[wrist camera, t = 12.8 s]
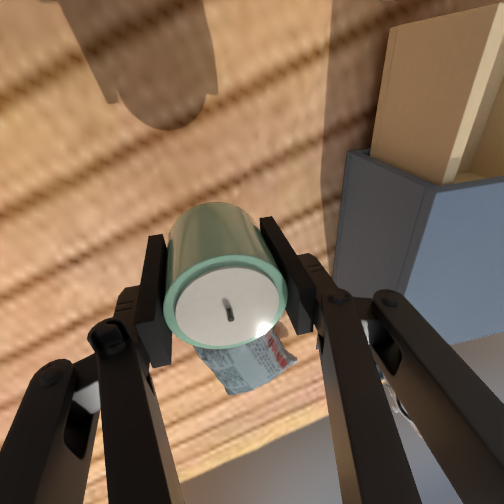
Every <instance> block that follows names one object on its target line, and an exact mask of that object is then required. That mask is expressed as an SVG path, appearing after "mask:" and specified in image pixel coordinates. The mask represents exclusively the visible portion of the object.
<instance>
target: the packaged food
mask: <svg viewBox="0 0 504 504" xmlns="http://www.w3.org/2000/svg"><path fill="white" fill-rule="evenodd" d="M273 327H274V326H273ZM273 327H272V328H271V329H270V330H269V331H268V332H266V333H265V334H264V335H262V336H261V337H259V338H257V339H255V340H253V341H251V342H249V343H246V344H244V345H241V346H237V347H233V348H226V349H206V348H200V347H196V346H193V347H194V349H195V351H196V352H197V354H198V356H199V357H200V358H201V360H202V361H203V362H204V363H205V364H206V365H207V366H208V367H209V368H210V369H211V370H212V371H213V372H214V373H215V375H216V377H217V378H218V379H219V381H220V382H221V383H222V384H223V385H224V387H225V390H226V392H227V394H228V395H235V394H240V393H244V392H248V391H252V390H254V389H256V388H258V387H260V386H262V385H264V384H266V383H268V382H270V381H271V380H272V379H274V378H275V377H277V376H278V375H280V374H281V373H283V372H284V371H285V370H286V369H287V368H288V366H291V365H293V364H295V363H297V357H295V356H294V355H292V354H291V353H289V352H288V351H287V350H286V349H284V347H283V345H282V343H281V341H280V339H279V337H278V336H277V335H276V334H275V333H274V331H273Z"/></svg>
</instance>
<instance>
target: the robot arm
mask: <svg viewBox="0 0 504 504" xmlns="http://www.w3.org/2000/svg"><path fill="white" fill-rule="evenodd" d="M260 232H261V234H262V236H263V238H264V240H265V242H266V244H267V246H268V248H269V250H270V252H271V254H272V256H273V258H274V260H275V261H276V263H277V265H278V267H279V269H280V271H281V273H282V275H283V277H284V279H285V281H286V284H287V289H288V300H287V305H286V308H285V309H286V311H287V314H288V316H289V318H290V320H291V323H292V325H293V327H294V329H295V332H296V334H297V335H301V334H305V333H310V332H313V325H315V327H316V329H317V330H318V335H317V345H316V349H319V353H320V360H321V366H322V373H323V379H324V386H325V392H326V399H327V405H328V412H329V418H330V424H331V430H332V437H333V444H334V450H335V456H336V463H337V470H338V476H339V483H340V489H341V496H342V502H343V504H422V502H421V499H420V496H419V493H418V490H417V487H416V484H415V481H414V478H413V475H412V472H411V469H410V466H409V463H408V460H407V457H406V454H405V451H404V448H403V445H402V442H401V439H400V436H399V433H398V430H397V427H396V424H395V421H394V418H393V415H392V412H391V409H390V406H389V403H388V400H387V397H386V394H385V391H384V388H383V385H382V382H381V379H380V376H379V373H378V370H377V367H376V364H375V361H376V363H377V365H378V366H379V368H380V370H381V371H382V373H383V374H384V376H385V378H386V379H387V381H388V382H389V384H390V386H391V387H392V389H393V391H394V392H395V394H396V395H397V397H398V399H399V400H400V402H401V403H402V405H403V407H404V408H405V410H406V412H407V413H408V415H409V416H410V418H411V420H412V421H413V423H414V424H415V426H416V428H417V429H418V431H419V433H420V434H421V436H422V437H423V439H424V441H425V442H426V444H427V445H428V447H429V449H430V450H431V452H432V454H433V455H434V457H435V458H436V460H437V462H438V463H439V465H440V466H441V468H442V470H443V471H444V473H445V475H446V476H447V478H448V479H449V481H450V482H451V484H452V486H453V487H454V489H455V490H456V492H457V494H458V495H459V497H460V499H461V500H462V502H463V503H464V504H504V404H503V403H502V402H501V401H500V400H499V399H498V397H497V396H496V395H495V394H494V393H493V392H492V391H491V390H490V389H489V388H488V387H487V386H486V384H485V383H484V382H483V381H482V380H481V379H480V378H479V377H478V376H477V375H476V374H475V373H474V372H473V371H472V369H470V367H469V366H468V365H467V364H466V363H465V362H464V361H463V360H462V358H461V357H460V356H459V355H458V354H457V353H456V352H455V351H454V350H453V349H452V348H451V347H450V345H449V344H448V343H447V342H446V341H445V340H444V339H443V338H442V337H441V336H440V335H439V333H438V332H437V331H436V330H435V329H434V328H433V327H432V326H431V325H430V324H429V323H428V322H427V320H426V319H425V318H424V317H423V316H422V315H421V314H420V313H419V312H418V311H417V310H416V309H415V307H414V306H413V305H412V304H411V303H410V302H409V301H408V300H407V299H406V298H405V297H404V296H403V295H402V294H400V293H398V292H396V291H394V290H389V289H381V290H378V291H376V292H375V293H374V294H373V298H362V297H353V296H352V295H351V294H350V293H349V292H348V291H346V290H344V289H341V288H338V287H337V285H336V284H335V283H334V281H333V280H332V278H331V277H330V276H329V274H328V273H327V272H326V270H325V269H324V267H323V266H322V265H321V263H320V262H319V261H318V259H317V258H316V257H314V256H313V255H311V254H309V253H306V254H301V255H296V253H295V252H294V250H293V248H292V247H291V245H290V244H289V242H288V241H287V239H286V237H285V236H284V234H283V233H282V231H281V230H280V228H279V226H278V225H277V223H276V222H275V220H274V219H273V217H272V216H270V217H264V218H260ZM166 257H167V247H166V244H165V240H164V237H163V234H159V235H153V236H149V238H148V244H147V249H146V255H145V260H144V266H143V271H142V277H141V283H140V285H138V286H133V287H127V288H125V289H124V290H123V291H122V292H121V294H120V295H119V297H118V300H117V306H116V308H115V313H114V316H113V317H112V318H108V319H105V320H103V321H101V322H99V323H97V324H96V325H95V326H94V327H93V328H92V329H91V330H90V332H89V333H88V337H87V340H88V342H89V343H90V345H91V346H92V348H93V350H94V351H95V353H94V354H92V355H90V356H88V357H86V358H84V359H82V360H80V361H78V362H76V363H73V364H72V363H71V361H70V360H67V359H57V360H55V361H52V362H49V363H48V364H46V365H45V366H43V367H42V368H41V369H39V370H38V371H37V372H36V373H35V374H34V376H33V378H32V379H31V381H30V383H29V385H28V388H27V390H26V392H25V395H24V397H23V399H22V402H21V404H20V406H19V409H18V411H17V413H16V416H15V418H14V420H13V423H12V425H11V427H10V430H9V432H8V434H7V437H6V439H5V441H4V444H3V446H2V448H1V451H0V504H83V500H84V494H85V489H86V484H87V478H88V473H89V467H90V462H91V457H92V451H93V446H94V440H95V435H96V430H97V424H98V419H99V414H100V410H101V419H102V431H103V443H104V454H105V466H106V478H107V490H108V501H109V504H185V502H184V499H183V495H182V491H181V487H180V483H179V479H178V476H177V472H176V468H175V464H174V461H173V457H172V453H171V449H170V445H169V442H168V438H167V434H166V430H165V426H164V423H163V419H162V415H161V411H160V408H159V404H158V400H157V396H156V392H155V389H154V385H153V381H152V377H151V375H150V373H149V363H151V365H152V367H153V368H157V367H161V366H166V365H170V364H171V355H172V331H171V330H170V329H169V327H168V325H167V323H166V321H165V318H164V314H163V301H164V286H165V272H166ZM374 360H375V361H374Z"/></svg>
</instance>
